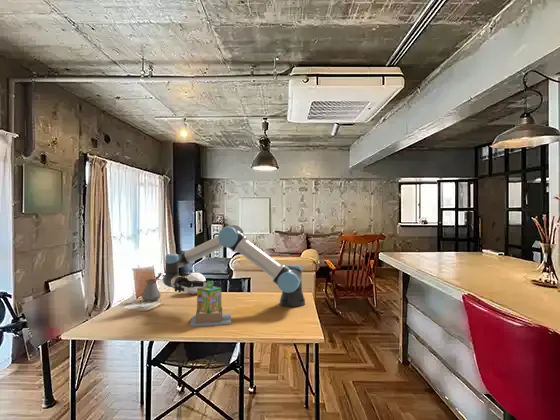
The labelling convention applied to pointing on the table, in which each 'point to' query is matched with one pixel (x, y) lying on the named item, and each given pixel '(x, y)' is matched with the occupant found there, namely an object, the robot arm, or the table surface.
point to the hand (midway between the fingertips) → (199, 288)
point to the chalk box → (209, 298)
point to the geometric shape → (195, 277)
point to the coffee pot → (151, 290)
